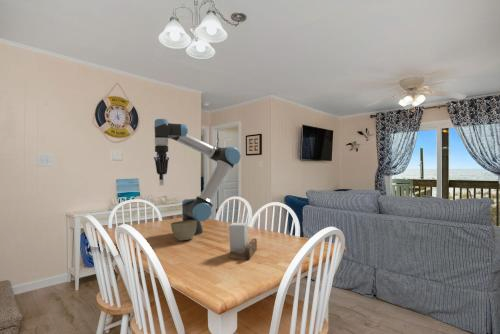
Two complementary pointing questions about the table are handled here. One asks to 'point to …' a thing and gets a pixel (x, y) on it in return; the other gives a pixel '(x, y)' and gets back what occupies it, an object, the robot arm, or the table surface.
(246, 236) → the skincare box
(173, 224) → the planter bowl
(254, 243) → the bay
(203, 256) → the table surface
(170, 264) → the table surface
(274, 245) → the table surface
